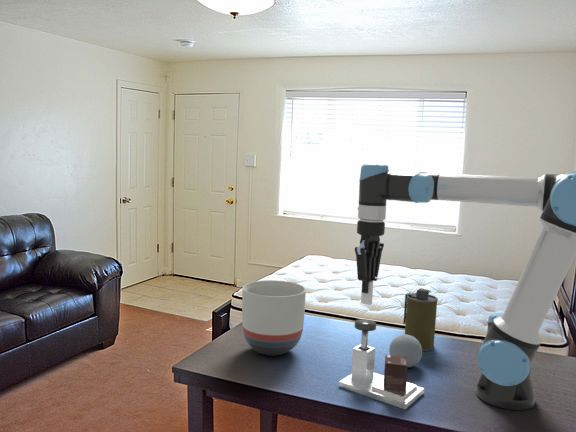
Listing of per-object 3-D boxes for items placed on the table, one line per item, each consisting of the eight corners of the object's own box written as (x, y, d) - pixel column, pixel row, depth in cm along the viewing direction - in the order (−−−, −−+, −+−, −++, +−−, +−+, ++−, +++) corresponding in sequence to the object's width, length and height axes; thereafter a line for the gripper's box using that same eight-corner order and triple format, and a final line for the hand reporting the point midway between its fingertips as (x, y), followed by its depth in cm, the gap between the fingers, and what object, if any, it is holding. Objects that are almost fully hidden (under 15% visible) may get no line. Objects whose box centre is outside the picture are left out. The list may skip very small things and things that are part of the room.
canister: (438, 344, 179) (442, 289, 177) (429, 353, 170) (433, 295, 168) (408, 337, 185) (411, 284, 183) (397, 346, 176) (401, 289, 174)
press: (423, 393, 141) (426, 357, 140) (405, 409, 132) (408, 370, 130) (360, 372, 153) (362, 339, 152) (339, 386, 144) (340, 350, 142)
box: (406, 392, 136) (408, 365, 135) (383, 389, 137) (384, 363, 136) (405, 382, 142) (407, 357, 141) (383, 379, 143) (385, 354, 142)
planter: (307, 343, 175) (309, 283, 173) (297, 367, 155) (300, 299, 153) (249, 338, 179) (251, 278, 176) (233, 360, 159) (235, 293, 156)
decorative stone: (424, 364, 161) (426, 334, 160) (416, 375, 153) (418, 343, 152) (393, 357, 166) (395, 327, 165) (384, 368, 157) (386, 336, 156)
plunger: (377, 367, 146) (380, 322, 144) (367, 374, 141) (369, 327, 140) (358, 362, 150) (361, 317, 148) (348, 368, 145) (350, 322, 143)
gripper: (370, 217, 148) (365, 296, 151) (347, 220, 138) (342, 305, 140) (394, 219, 143) (388, 301, 146) (372, 223, 133) (367, 311, 136)
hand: (366, 303), depth 143 cm, fingers closed
